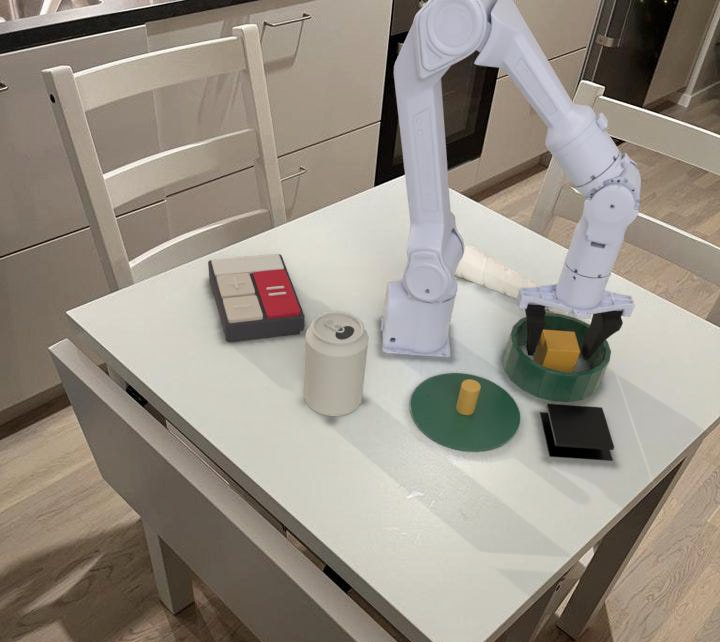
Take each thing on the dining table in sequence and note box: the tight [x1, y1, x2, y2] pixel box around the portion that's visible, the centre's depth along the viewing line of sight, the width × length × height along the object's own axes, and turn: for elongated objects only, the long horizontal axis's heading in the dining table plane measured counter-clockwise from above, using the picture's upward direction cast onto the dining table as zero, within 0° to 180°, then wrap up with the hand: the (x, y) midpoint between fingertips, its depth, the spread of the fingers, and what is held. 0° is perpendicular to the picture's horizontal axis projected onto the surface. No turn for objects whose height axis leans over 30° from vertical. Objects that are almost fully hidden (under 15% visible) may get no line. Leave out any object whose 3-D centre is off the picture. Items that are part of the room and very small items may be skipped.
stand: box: [539, 403, 615, 462], centre depth 93 cm, size 8×8×2 cm
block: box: [533, 330, 581, 373], centre depth 100 cm, size 4×4×5 cm
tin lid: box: [409, 372, 521, 453], centre depth 93 cm, size 14×14×5 cm
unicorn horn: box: [454, 244, 592, 325], centre depth 111 cm, size 5×24×5 cm, turn 54°
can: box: [303, 310, 369, 417], centre depth 90 cm, size 8×8×12 cm
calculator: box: [207, 253, 305, 343], centre depth 105 cm, size 11×4×15 cm
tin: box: [502, 312, 612, 403], centre depth 100 cm, size 13×13×5 cm
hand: (557, 353), depth 100 cm, fingers open, 7 cm apart
